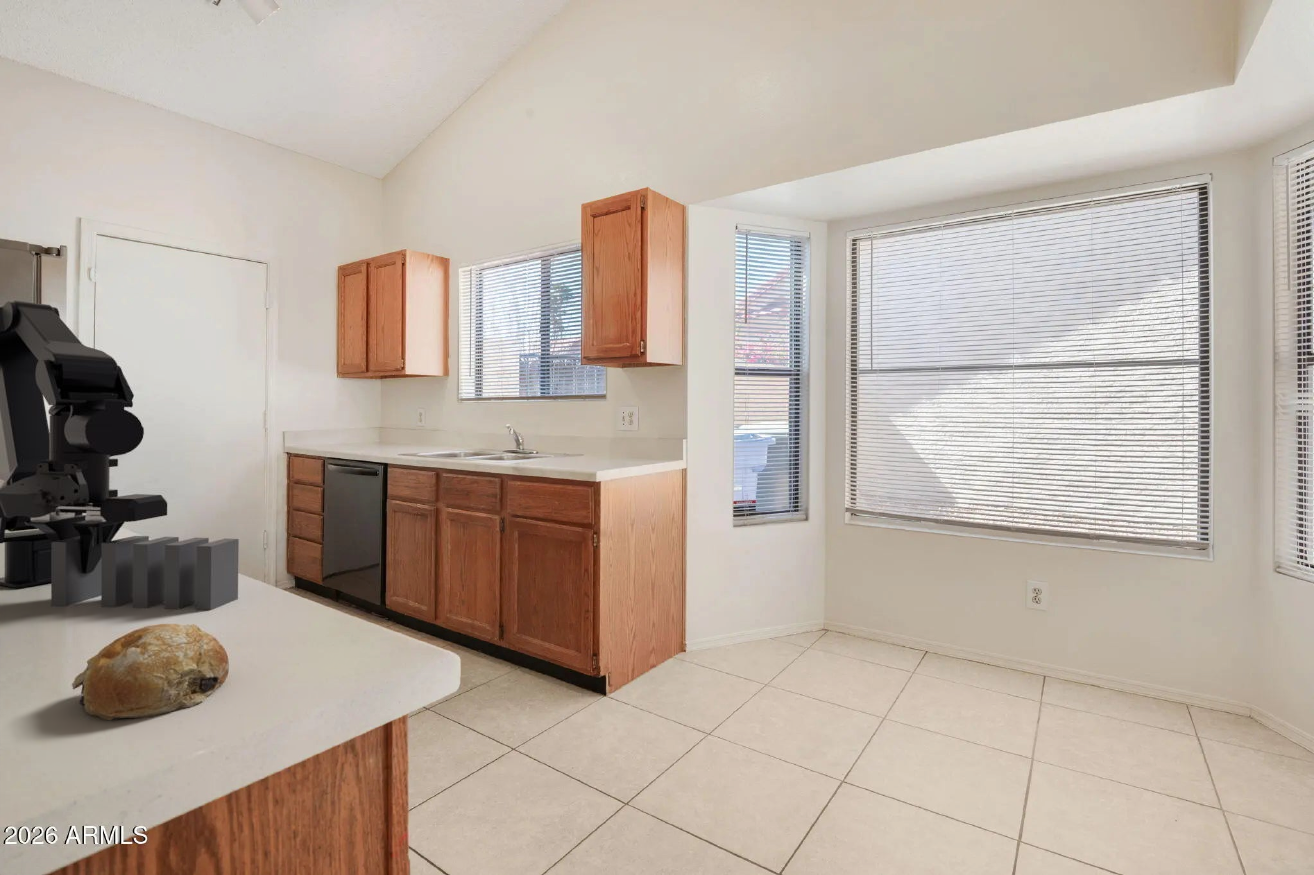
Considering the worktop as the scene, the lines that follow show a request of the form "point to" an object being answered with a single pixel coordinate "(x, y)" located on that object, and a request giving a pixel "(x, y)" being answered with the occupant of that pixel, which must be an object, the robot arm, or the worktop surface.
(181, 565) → the tile
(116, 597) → the tile
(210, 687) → the bread roll
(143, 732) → the worktop surface
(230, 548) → the tile
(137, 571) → the tile
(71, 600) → the tile
